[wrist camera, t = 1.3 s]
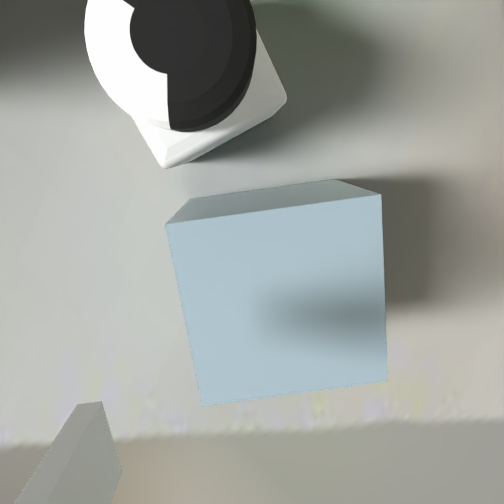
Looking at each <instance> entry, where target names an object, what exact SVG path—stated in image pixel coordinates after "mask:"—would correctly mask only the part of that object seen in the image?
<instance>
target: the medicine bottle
mask: <svg viewBox="0 0 504 504" xmlns="http://www.w3.org/2000/svg"><path fill="white" fill-rule="evenodd" d="M84 34H85V40H86V48H87V52H88V55H89V59H90V62H91V65H92V67H93V70H94V72H95V75H96V76H97V78H98V80H99V82H100V84H101V85H102V87H103V88H104V90H105V91H106V92H107V94H108V95H109V96H110V97H111V98H112V99H113V101H114V102H115V103H116V104H117V105H118V106H120V107H121V108H122V109H123V110H124V111H126V112H127V113H128V114H130V115H131V116H132V118H133V120H134V121H135V123H136V125H137V127H138V128H139V130H140V132H141V134H142V135H143V137H144V139H145V140H146V142H147V144H148V146H149V147H150V149H151V151H152V152H153V154H154V156H155V158H156V159H157V161H158V163H159V164H160V166H161V167H162V168H165V169H168V168H172V167H175V166H179V165H182V164H186V163H189V162H190V161H192V160H194V159H196V158H198V157H199V156H201V155H203V154H205V153H207V152H208V151H210V150H212V149H214V148H216V147H217V146H219V145H221V144H223V143H225V142H227V141H228V140H230V139H232V138H234V137H236V136H237V135H239V134H241V133H243V132H245V131H246V130H248V129H250V128H252V127H254V126H256V125H257V124H259V123H261V122H263V121H265V120H266V119H268V118H270V117H272V116H273V115H274V114H275V113H276V112H277V111H278V110H279V109H280V108H281V107H282V106H283V105H284V104H285V103H286V101H287V94H286V92H285V90H284V88H283V85H282V83H281V81H280V79H279V77H278V75H277V72H276V70H275V68H274V66H273V64H272V61H271V59H270V57H269V55H268V53H267V51H266V48H265V46H264V44H263V42H262V40H261V37H260V35H259V33H258V31H257V29H256V23H255V18H254V13H253V10H252V7H251V4H250V1H249V0H88V3H87V6H86V13H85V29H84Z"/></svg>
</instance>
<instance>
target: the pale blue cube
mask: <svg viewBox="0 0 504 504" xmlns="http://www.w3.org/2000/svg"><path fill="white" fill-rule="evenodd" d="M165 226H166V231H167V236H168V241H169V246H170V251H171V256H172V260H173V265H174V270H175V275H176V280H177V285H178V290H179V295H180V300H181V305H182V310H183V314H184V319H185V324H186V329H187V334H188V339H189V344H190V349H191V354H192V359H193V363H194V368H195V373H196V378H197V383H198V388H199V393H200V398H201V403H202V406H208V405H215V404H222V403H230V402H237V401H245V400H252V399H260V398H267V397H274V396H282V395H289V394H297V393H304V392H312V391H319V390H326V389H334V388H341V387H349V386H356V385H364V384H371V383H378V382H386V381H388V369H387V341H386V313H385V285H384V257H383V229H382V201H381V194H379V193H376V192H372V191H369V190H366V189H363V188H360V187H357V186H354V185H351V184H348V183H345V182H342V181H339V180H336V179H332V180H324V181H317V182H310V183H303V184H296V185H288V186H281V187H274V188H267V189H260V190H252V191H245V192H238V193H231V194H224V195H216V196H209V197H202V198H195V199H190V200H189V201H188V202H187V203H186V204H185V205H184V206H183V207H182V208H181V209H180V210H179V211H178V212H177V213H176V214H175V215H174V216H173V217H172V218H171V219H170V220H169V221H168V222H167V223H166V224H165Z"/></svg>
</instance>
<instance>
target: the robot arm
mask: <svg viewBox="0 0 504 504" xmlns="http://www.w3.org/2000/svg"><path fill="white" fill-rule="evenodd" d="M121 473H122V469H121V466H120V463H119V459H118V456H117V452H116V449H115V445H114V442H113V438H112V435H111V432H110V428H109V425H108V421H107V418H106V415H105V411H104V408H103V404H102V401H100V402H93V403H86V404H78V405H77V406H76V407H75V409H74V410H73V412H72V414H71V415H70V417H69V418H68V420H67V421H66V423H65V424H64V426H63V428H62V429H61V431H60V432H59V434H58V435H57V437H56V438H55V440H54V442H53V443H52V445H51V446H50V448H49V450H48V451H47V453H46V454H45V456H44V457H43V459H42V460H41V462H40V463H39V465H38V467H37V468H36V470H35V471H34V473H33V474H32V476H31V477H30V479H29V481H28V482H27V484H26V485H25V487H24V489H23V490H22V491H21V493H20V494H19V496H18V498H17V499H16V501H15V502H14V504H110V503H111V500H112V498H113V495H114V492H115V490H116V487H117V484H118V482H119V479H120V476H121Z"/></svg>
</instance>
